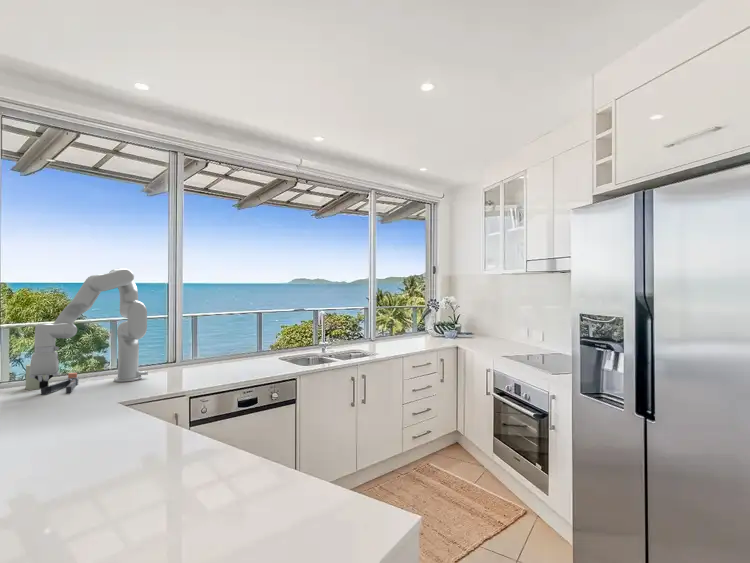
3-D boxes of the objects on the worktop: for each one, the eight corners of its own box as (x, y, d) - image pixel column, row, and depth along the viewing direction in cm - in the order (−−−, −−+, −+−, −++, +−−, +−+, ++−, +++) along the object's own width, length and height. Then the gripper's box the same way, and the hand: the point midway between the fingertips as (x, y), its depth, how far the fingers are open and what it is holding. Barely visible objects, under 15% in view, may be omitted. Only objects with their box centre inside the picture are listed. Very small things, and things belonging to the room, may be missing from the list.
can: (20, 390, 194) (21, 365, 194) (31, 386, 203) (32, 362, 203) (43, 389, 196) (44, 364, 196) (53, 385, 205) (53, 361, 205)
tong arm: (66, 385, 202) (66, 379, 202) (70, 385, 202) (70, 379, 203) (40, 394, 184) (41, 388, 184) (45, 394, 185) (45, 388, 185)
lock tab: (68, 377, 207) (69, 373, 207) (77, 376, 208) (77, 372, 208) (68, 378, 205) (68, 374, 205) (76, 377, 206) (76, 373, 206)
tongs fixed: (67, 384, 206) (67, 377, 206) (78, 383, 209) (78, 376, 209) (59, 394, 186) (59, 387, 186) (71, 393, 188) (71, 385, 188)
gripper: (66, 348, 196) (65, 386, 196) (26, 350, 189) (25, 389, 188) (63, 350, 190) (62, 389, 189) (22, 352, 182) (20, 393, 182)
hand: (43, 389), depth 189 cm, fingers closed
